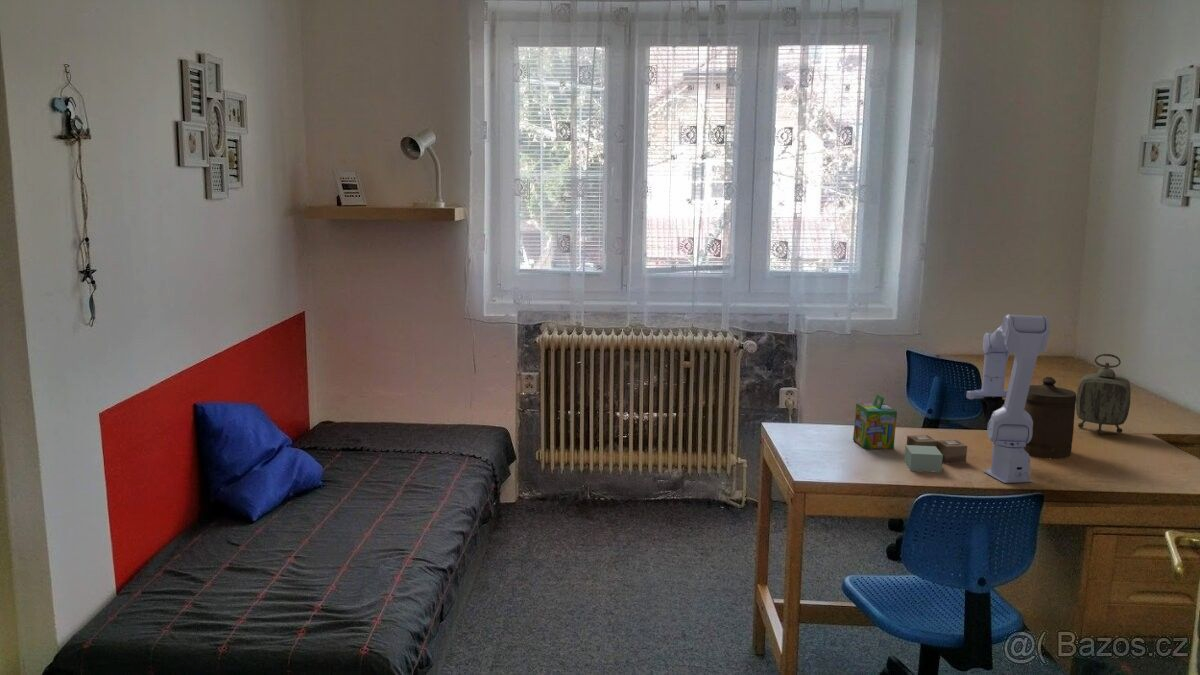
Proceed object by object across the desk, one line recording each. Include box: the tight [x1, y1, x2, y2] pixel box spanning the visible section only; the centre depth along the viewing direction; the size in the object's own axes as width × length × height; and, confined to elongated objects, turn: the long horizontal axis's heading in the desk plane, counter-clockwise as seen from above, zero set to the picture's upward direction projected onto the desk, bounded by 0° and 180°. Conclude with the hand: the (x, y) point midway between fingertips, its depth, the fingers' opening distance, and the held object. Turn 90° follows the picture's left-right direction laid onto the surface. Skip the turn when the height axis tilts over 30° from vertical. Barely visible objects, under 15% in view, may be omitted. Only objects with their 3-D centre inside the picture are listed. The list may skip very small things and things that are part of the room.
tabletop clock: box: [1075, 353, 1132, 435], centre depth 274 cm, size 14×9×25 cm, turn 59°
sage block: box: [903, 444, 943, 473], centre depth 240 cm, size 8×8×5 cm
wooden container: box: [1024, 376, 1077, 460], centre depth 254 cm, size 15×15×22 cm
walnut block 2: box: [935, 439, 968, 464], centre depth 247 cm, size 6×6×5 cm
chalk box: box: [852, 394, 898, 450], centre depth 259 cm, size 9×9×15 cm
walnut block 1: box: [906, 434, 937, 448], centre depth 251 cm, size 6×6×5 cm
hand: (989, 422), depth 251 cm, fingers closed
